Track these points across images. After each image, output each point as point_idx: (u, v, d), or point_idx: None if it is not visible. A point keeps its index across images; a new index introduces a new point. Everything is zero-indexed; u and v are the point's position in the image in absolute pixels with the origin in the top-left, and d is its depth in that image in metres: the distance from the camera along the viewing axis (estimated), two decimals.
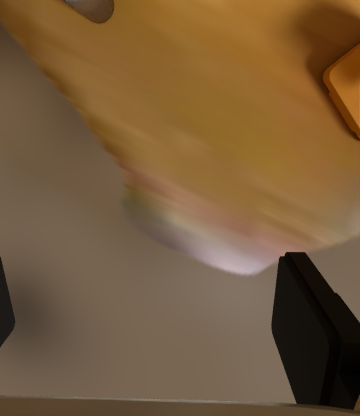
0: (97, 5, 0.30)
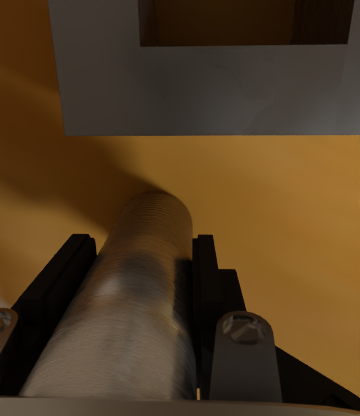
0: None
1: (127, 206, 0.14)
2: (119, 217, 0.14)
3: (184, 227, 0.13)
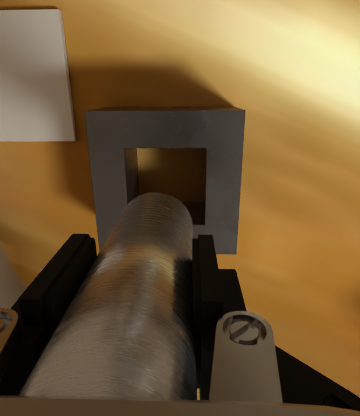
0: None
1: (127, 207, 0.14)
2: (119, 218, 0.13)
3: (184, 228, 0.13)
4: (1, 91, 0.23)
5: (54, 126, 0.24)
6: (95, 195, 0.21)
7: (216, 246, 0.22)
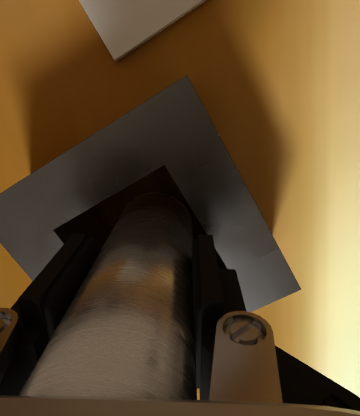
0: None
1: (127, 207, 0.14)
2: (119, 218, 0.13)
3: (184, 228, 0.13)
4: None
5: (116, 15, 0.14)
6: (62, 158, 0.12)
7: None
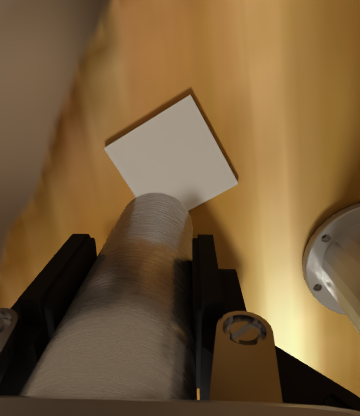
0: None
1: (127, 207, 0.14)
2: (119, 218, 0.13)
3: (184, 228, 0.13)
4: (161, 164, 0.28)
5: None
6: None
7: None
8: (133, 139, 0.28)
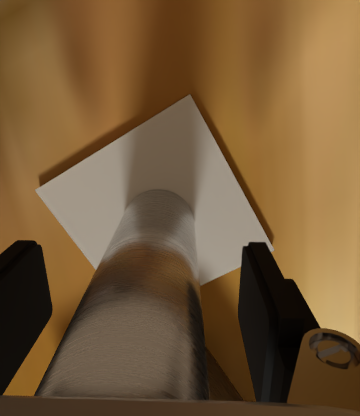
0: None
1: (131, 203, 0.15)
2: (124, 213, 0.14)
3: (187, 222, 0.13)
4: None
5: None
6: None
7: None
8: (87, 175, 0.15)
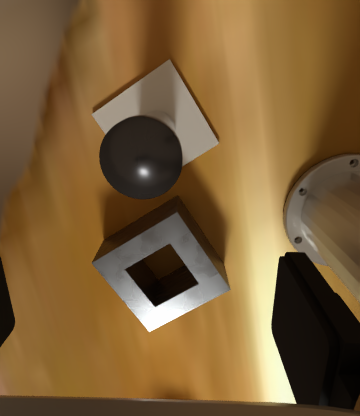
0: None
1: None
2: None
3: (170, 120, 0.28)
4: None
5: None
6: (129, 242, 0.30)
7: (146, 319, 0.33)
8: (118, 104, 0.30)
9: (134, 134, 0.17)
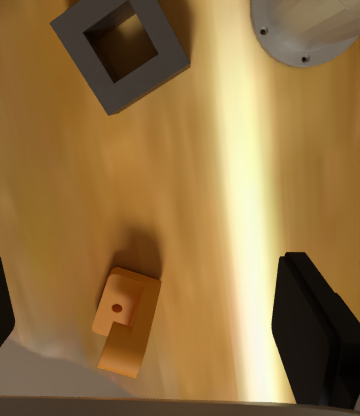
0: None
1: None
2: None
3: None
4: None
5: None
6: None
7: (105, 100, 0.32)
8: None
9: None
